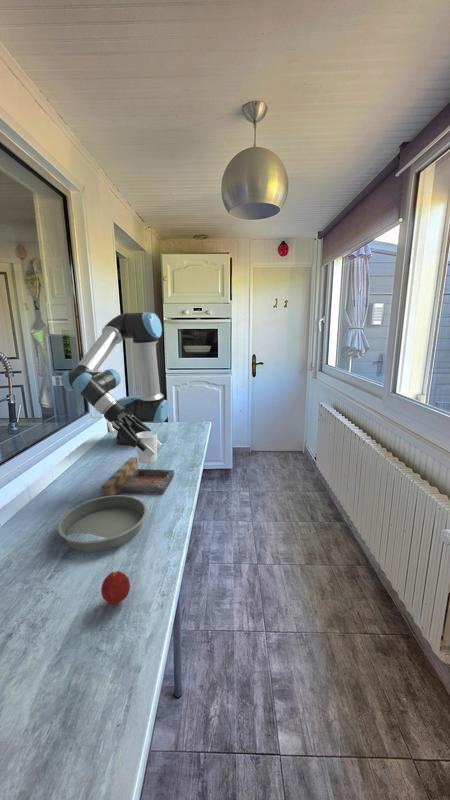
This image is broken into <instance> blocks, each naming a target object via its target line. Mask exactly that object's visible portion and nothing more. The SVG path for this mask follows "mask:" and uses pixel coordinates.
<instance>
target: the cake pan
mask: <svg viewBox="0 0 450 800" xmlns="http://www.w3.org/2000/svg"><path fill="white" fill-rule="evenodd" d="M147 514H148V508H147V506H146V504H145V503H144V502H143V501H142V500H141V499H139V498H136V497H133V496H130V495H120V494H116V495H113V496H105V497H102V496H100V497H97V498H92V499H89V500H87V501H85V502H81V503H80V504H77V505H76V506H74V507H73V508H71V509H70V510H68V511H67V512H65V514H64V515H63V516H62V517H61V518H60V520H59V521H58V523H57V524H58V525H57V532H58V534H59V536H61V538H63V539H64V540H65V541H66V543H67V544H68V546H69V547H70V548H71V549H74V550H76V551H78V552H79V551H80V552H84V553H86V552H87V553H96V552H103V551H109V550H111V549H115V548H118V547H120V546H122V545H125V544H126V543H128V542H130V541H131V540H133V539H134V538H135V537H136V536H137V535H138V534H139V533H140V532H141V529H142V527H143V522H144V520H145V518H146V517H147ZM73 534H84V535H93V536H96V537H101V539H95V540H79V539H74V538H71V537H69V535H73Z"/></svg>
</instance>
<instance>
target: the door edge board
mask: <svg viewBox="0 0 450 800" xmlns="http://www.w3.org/2000/svg"><path fill="white" fill-rule="evenodd" d="M138 462H139V461H138V457H130V456H129V457H128V459H127V460H126V461H125V462H124V463H123V464H122V465H121V466H120V467H119V468H118V469H117V470H116V471H115V472H114V473H113V474H112V475H111V476H110V477H109V478H108V479H107V480H106V481H105V482H104V483H103V484H102V485H101V497H105V496H113V495H118V493H119V492H120V490H121V489H123V485H124V484H125V483H126V482H127V481H128V480H129V478H130V477H131V476H132V475H133V474H134V473H135V471H136V470H137V469H139V465H138Z"/></svg>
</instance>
